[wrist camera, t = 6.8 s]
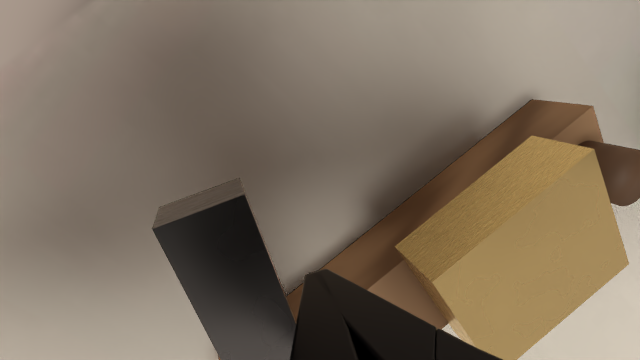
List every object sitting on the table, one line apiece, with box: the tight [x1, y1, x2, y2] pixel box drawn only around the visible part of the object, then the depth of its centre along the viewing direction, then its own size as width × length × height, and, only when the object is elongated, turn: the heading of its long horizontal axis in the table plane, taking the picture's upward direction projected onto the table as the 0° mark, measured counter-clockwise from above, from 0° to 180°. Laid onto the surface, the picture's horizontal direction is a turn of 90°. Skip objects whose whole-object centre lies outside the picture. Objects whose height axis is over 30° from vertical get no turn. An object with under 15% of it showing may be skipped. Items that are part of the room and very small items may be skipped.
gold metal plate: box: [395, 136, 629, 360], centre depth 14 cm, size 7×6×2 cm
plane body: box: [218, 99, 640, 360], centre depth 15 cm, size 19×4×7 cm, turn 125°
